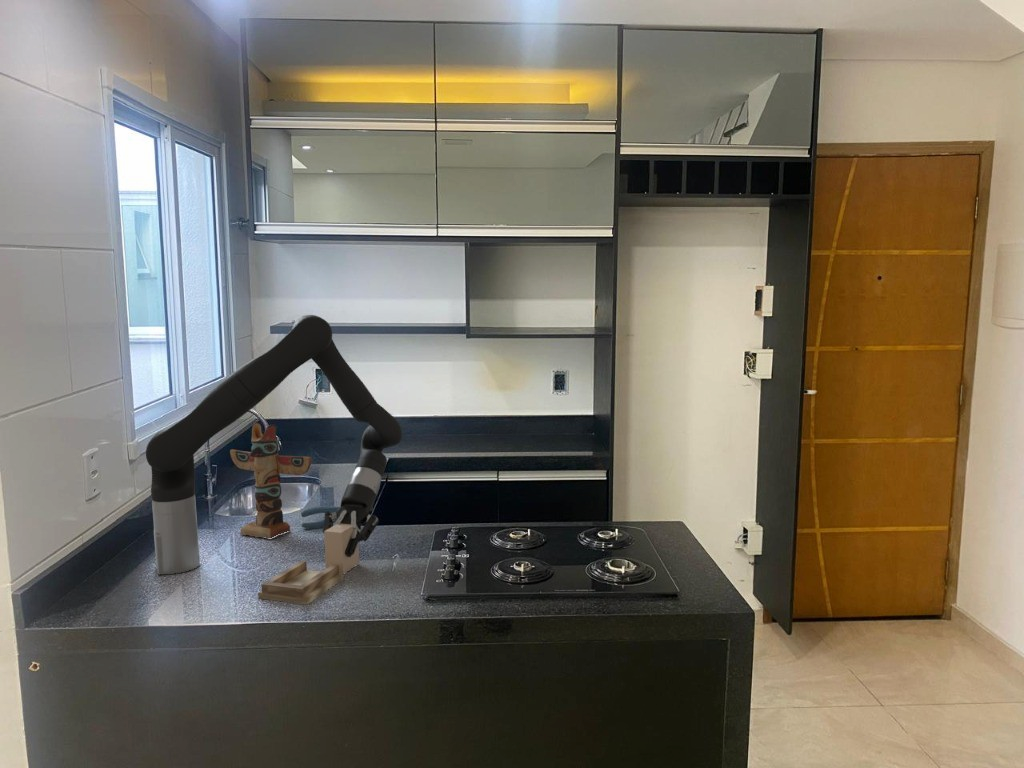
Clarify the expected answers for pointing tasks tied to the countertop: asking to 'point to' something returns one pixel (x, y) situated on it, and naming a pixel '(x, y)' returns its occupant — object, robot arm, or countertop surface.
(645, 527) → the countertop surface
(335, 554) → the clay block
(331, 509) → the pliers
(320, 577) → the wooden rimmed tray
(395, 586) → the countertop surface
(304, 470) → the totem pole
